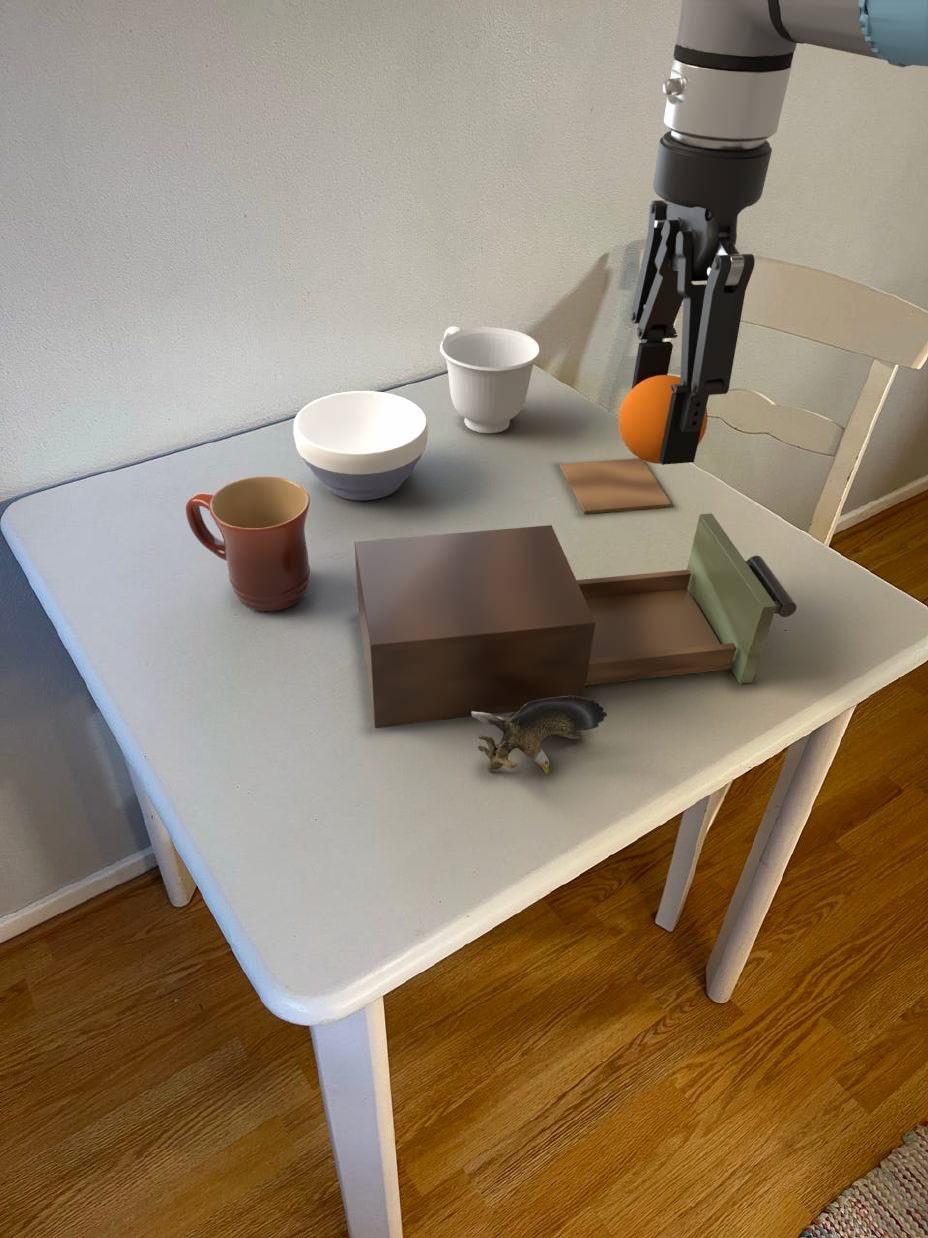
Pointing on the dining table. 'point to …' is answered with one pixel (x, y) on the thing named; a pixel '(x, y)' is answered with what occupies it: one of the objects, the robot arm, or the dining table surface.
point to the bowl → (361, 442)
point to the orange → (648, 417)
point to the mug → (258, 538)
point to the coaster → (614, 486)
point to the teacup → (488, 374)
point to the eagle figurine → (539, 727)
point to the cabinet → (470, 623)
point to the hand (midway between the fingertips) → (659, 436)
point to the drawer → (685, 614)
